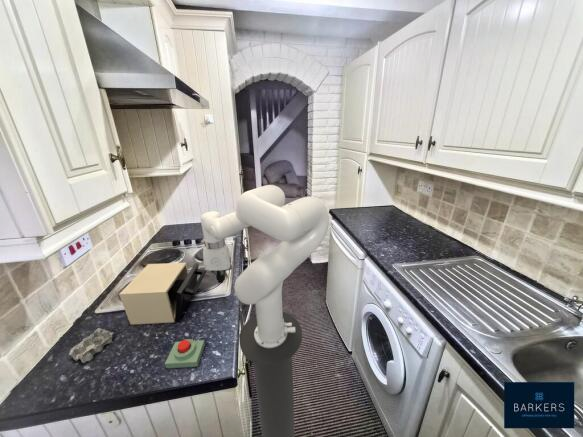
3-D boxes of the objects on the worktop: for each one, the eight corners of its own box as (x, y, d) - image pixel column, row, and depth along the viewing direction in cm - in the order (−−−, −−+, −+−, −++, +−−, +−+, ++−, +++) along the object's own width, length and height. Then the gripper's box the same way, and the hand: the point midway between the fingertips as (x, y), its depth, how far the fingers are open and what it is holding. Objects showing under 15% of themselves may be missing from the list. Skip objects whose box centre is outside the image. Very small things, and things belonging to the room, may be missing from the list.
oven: (192, 289, 109) (186, 262, 104) (174, 322, 91) (165, 291, 85) (156, 291, 109) (147, 264, 103) (130, 324, 90) (118, 294, 84)
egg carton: (85, 365, 75) (80, 356, 73) (70, 359, 77) (65, 350, 75) (117, 338, 84) (113, 330, 83) (102, 333, 86) (98, 325, 85)
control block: (205, 344, 81) (203, 336, 79) (197, 366, 74) (195, 357, 72) (176, 346, 81) (174, 337, 79) (166, 368, 73) (163, 359, 72)
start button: (192, 343, 77) (191, 339, 77) (188, 353, 74) (187, 349, 73) (181, 343, 77) (180, 340, 77) (176, 353, 74) (175, 349, 73)
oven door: (205, 290, 110) (208, 265, 105) (190, 323, 91) (193, 294, 86) (192, 288, 109) (195, 262, 104) (174, 321, 90) (176, 292, 85)
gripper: (192, 248, 86) (200, 287, 93) (232, 246, 86) (237, 286, 93) (199, 239, 93) (206, 276, 100) (236, 237, 93) (240, 275, 100)
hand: (221, 281), depth 96 cm, fingers closed
